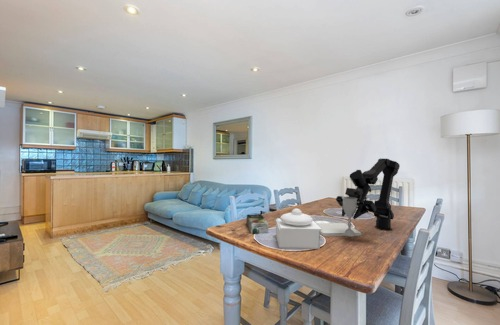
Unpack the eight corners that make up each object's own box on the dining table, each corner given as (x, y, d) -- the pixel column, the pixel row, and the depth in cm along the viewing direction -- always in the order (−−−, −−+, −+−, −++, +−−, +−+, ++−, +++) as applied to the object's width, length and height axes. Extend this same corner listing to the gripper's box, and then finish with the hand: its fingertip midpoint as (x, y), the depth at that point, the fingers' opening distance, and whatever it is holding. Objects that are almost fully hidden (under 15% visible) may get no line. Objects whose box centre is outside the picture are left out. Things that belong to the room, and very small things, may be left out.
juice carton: (270, 233, 120) (269, 222, 120) (251, 234, 118) (251, 222, 118) (262, 223, 140) (262, 213, 140) (245, 224, 138) (245, 214, 138)
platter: (344, 225, 136) (344, 223, 136) (361, 235, 118) (361, 232, 118) (311, 226, 135) (311, 223, 135) (323, 236, 117) (323, 233, 117)
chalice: (356, 233, 114) (357, 197, 114) (358, 237, 108) (358, 199, 108) (341, 231, 117) (341, 196, 117) (341, 236, 110) (341, 198, 110)
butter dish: (275, 235, 117) (276, 204, 117) (311, 236, 117) (311, 204, 117) (279, 248, 100) (279, 211, 100) (321, 249, 99) (321, 212, 99)
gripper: (338, 180, 122) (324, 203, 116) (373, 183, 107) (359, 210, 101) (346, 194, 127) (334, 217, 121) (382, 199, 111) (369, 225, 105)
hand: (347, 217), depth 112 cm, fingers closed on chalice, 6 cm apart
